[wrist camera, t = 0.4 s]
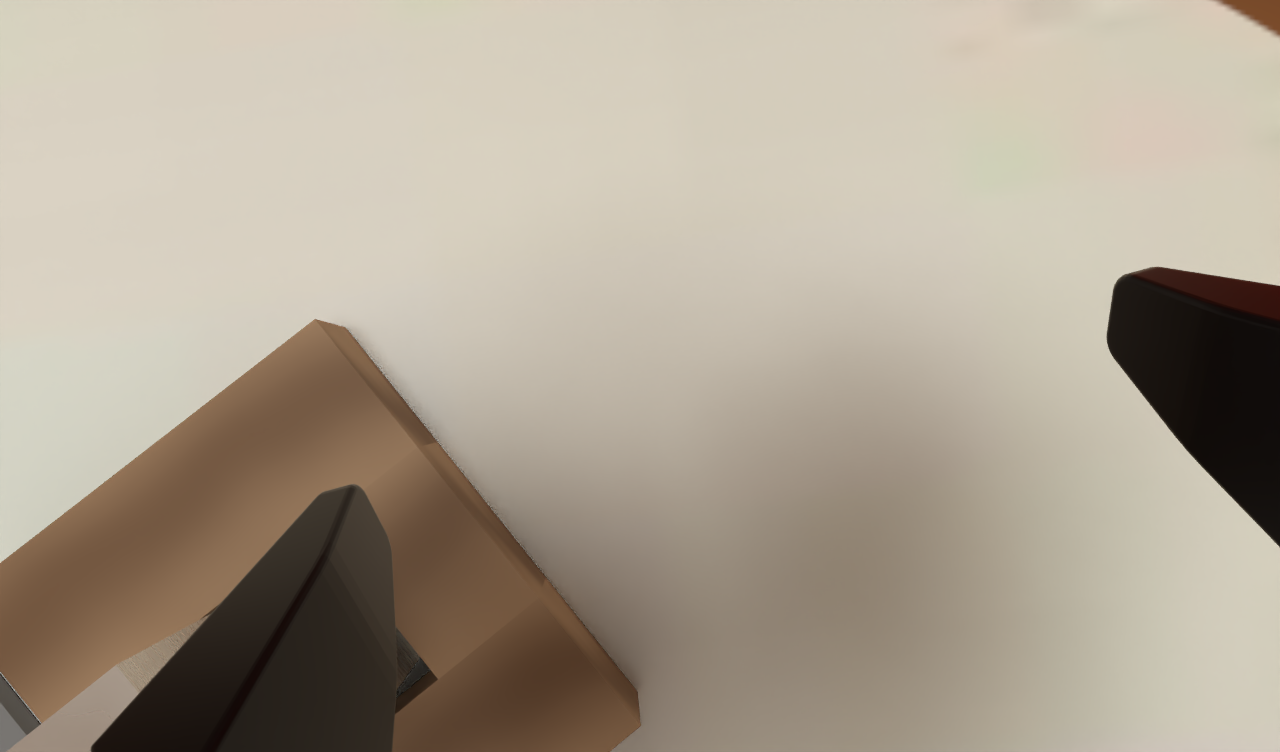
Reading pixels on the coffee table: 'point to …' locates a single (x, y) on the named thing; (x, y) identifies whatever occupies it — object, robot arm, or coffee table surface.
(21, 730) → the grey mat
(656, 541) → the coffee table surface
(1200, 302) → the robot arm
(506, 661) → the brown wooden frame
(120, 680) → the steel key bar
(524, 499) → the coffee table surface
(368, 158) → the coffee table surface
